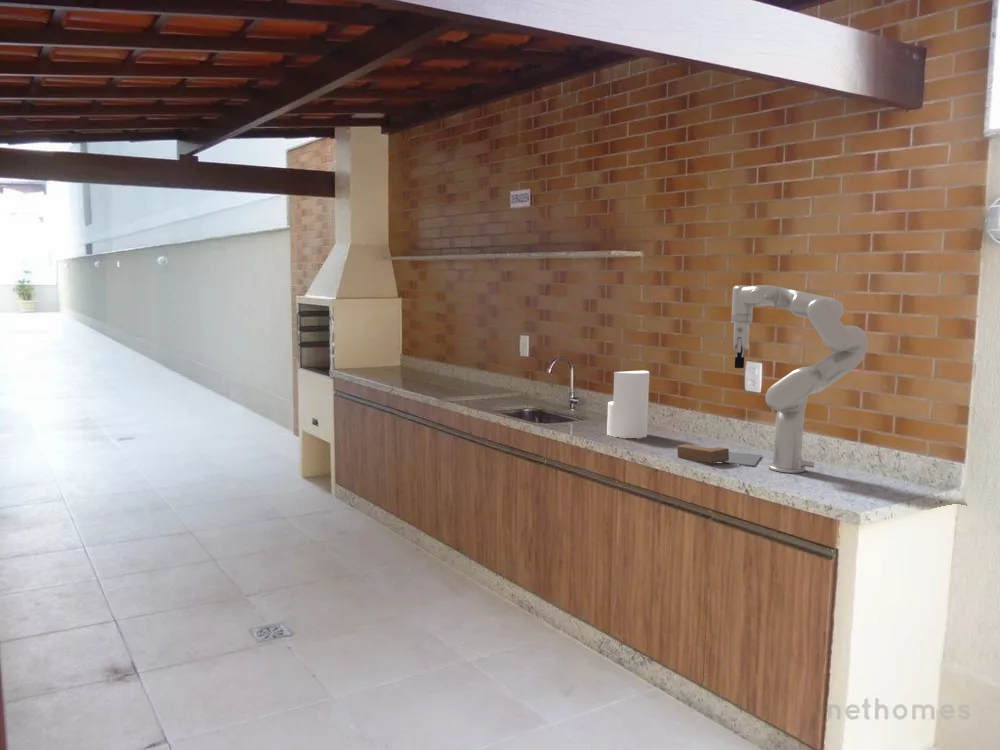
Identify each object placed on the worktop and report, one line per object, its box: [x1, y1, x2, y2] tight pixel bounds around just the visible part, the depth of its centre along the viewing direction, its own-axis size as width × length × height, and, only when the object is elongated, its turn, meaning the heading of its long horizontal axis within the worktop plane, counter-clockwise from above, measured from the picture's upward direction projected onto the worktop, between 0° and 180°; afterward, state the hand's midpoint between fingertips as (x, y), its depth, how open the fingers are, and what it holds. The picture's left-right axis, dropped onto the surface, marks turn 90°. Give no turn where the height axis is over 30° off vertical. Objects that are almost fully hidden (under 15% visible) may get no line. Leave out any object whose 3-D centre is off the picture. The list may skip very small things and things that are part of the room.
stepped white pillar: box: [606, 370, 650, 439], centre depth 356 cm, size 17×17×28 cm
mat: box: [721, 451, 763, 468], centre depth 312 cm, size 20×20×1 cm
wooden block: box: [676, 443, 730, 464], centre depth 308 cm, size 9×4×18 cm
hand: (739, 367), depth 307 cm, fingers closed
